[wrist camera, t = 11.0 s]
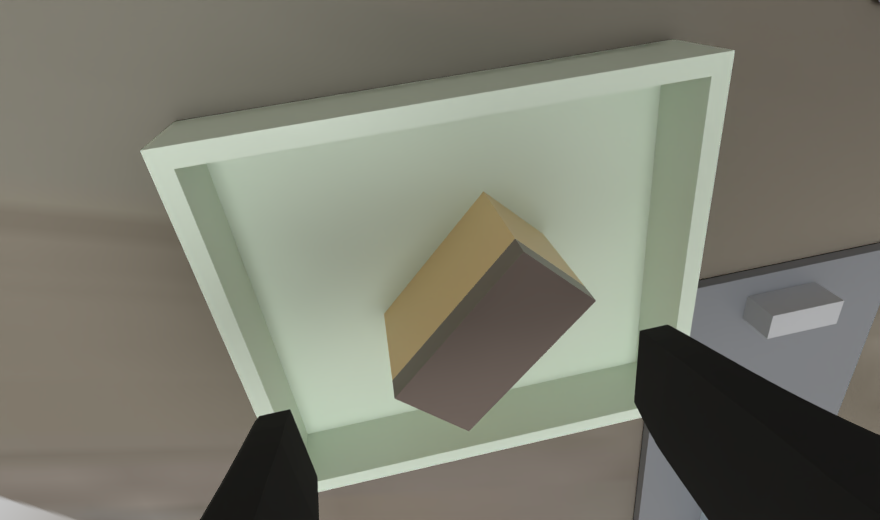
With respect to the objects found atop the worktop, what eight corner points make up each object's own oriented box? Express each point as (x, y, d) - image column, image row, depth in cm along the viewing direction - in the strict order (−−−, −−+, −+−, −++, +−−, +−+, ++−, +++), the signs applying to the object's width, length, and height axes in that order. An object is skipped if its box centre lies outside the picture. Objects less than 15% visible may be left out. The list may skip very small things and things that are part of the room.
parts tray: (673, 39, 16) (735, 50, 14) (641, 361, 24) (678, 409, 21) (174, 121, 15) (139, 150, 13) (298, 437, 22) (292, 497, 20)
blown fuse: (543, 234, 19) (596, 300, 15) (444, 345, 20) (468, 431, 17) (483, 191, 17) (523, 251, 14) (383, 314, 19) (394, 398, 15)
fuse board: (891, 240, 22) (937, 262, 21) (784, 530, 33) (808, 560, 32) (659, 288, 22) (687, 315, 20) (627, 570, 33) (643, 603, 31)
